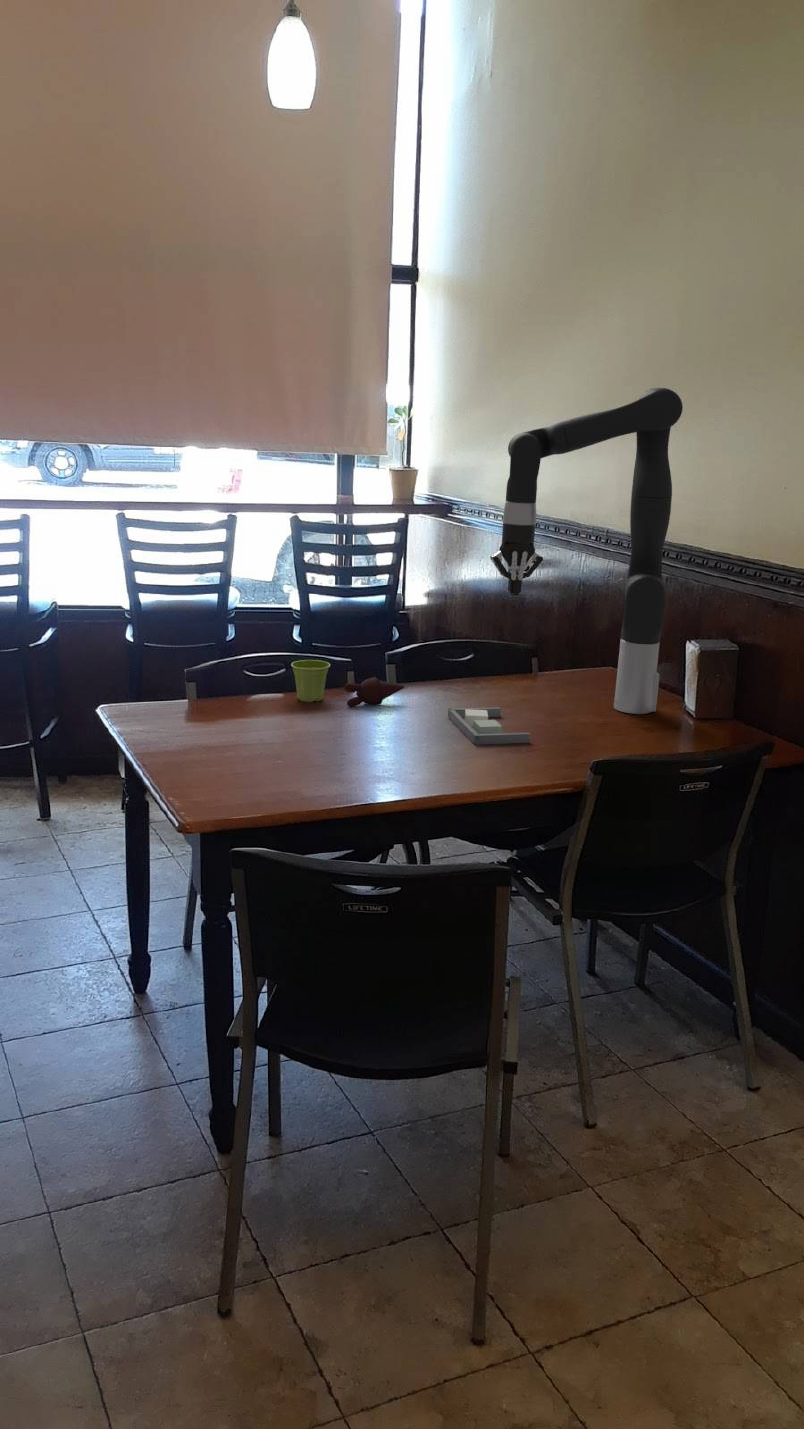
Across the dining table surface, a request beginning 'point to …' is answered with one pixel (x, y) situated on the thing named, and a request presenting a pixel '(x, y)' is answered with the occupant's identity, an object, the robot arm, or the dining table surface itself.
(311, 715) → the dining table surface
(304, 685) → the plant pot
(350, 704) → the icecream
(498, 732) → the tile sage
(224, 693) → the dining table surface
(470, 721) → the tile cream
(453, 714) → the grey u-shaped frame
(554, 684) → the dining table surface
